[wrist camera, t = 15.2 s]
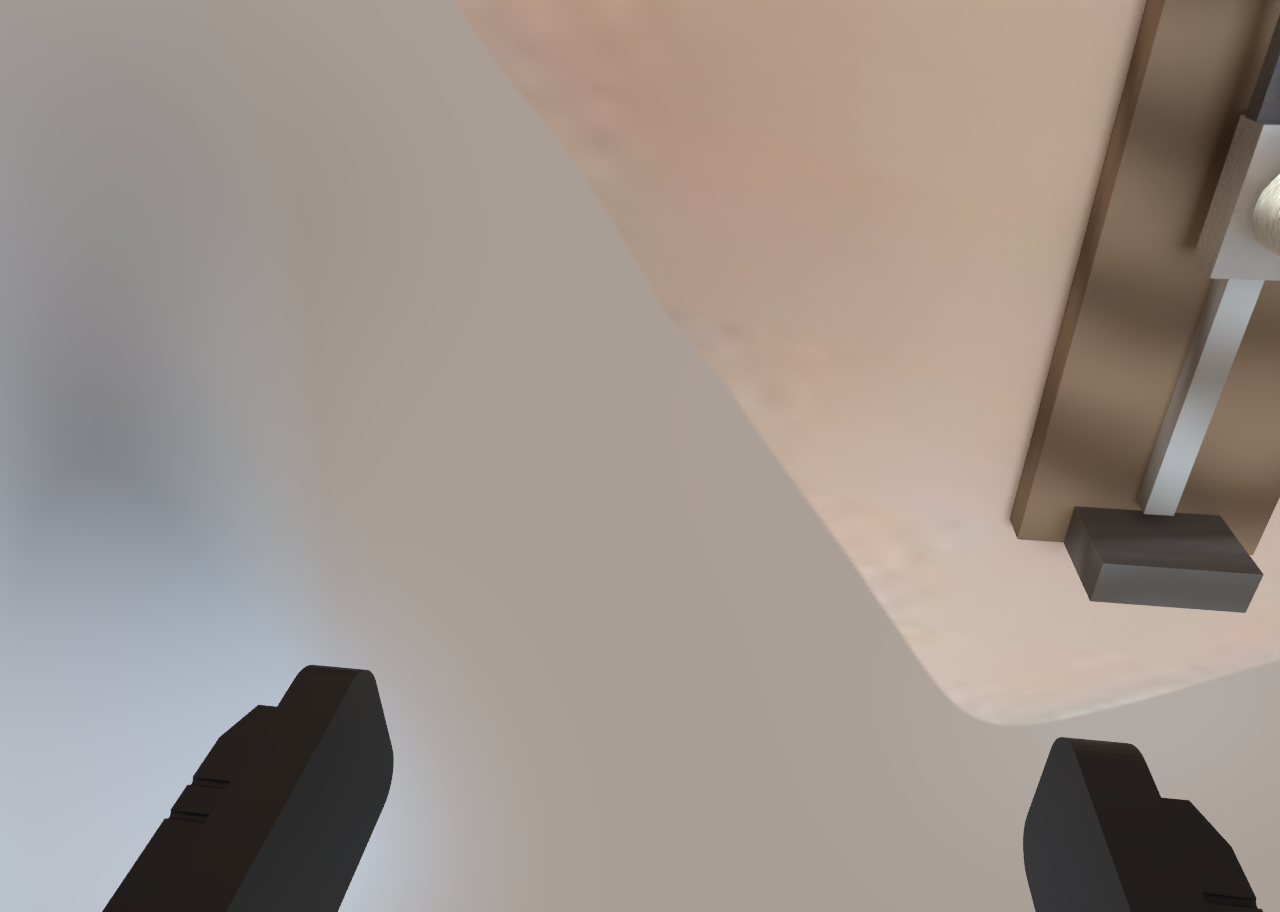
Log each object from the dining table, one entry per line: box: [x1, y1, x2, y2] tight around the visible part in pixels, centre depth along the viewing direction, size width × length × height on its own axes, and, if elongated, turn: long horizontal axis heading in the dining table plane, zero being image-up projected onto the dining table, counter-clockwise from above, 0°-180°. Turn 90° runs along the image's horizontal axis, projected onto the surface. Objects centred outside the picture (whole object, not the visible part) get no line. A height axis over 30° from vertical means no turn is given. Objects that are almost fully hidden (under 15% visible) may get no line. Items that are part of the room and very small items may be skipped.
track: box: [1010, 0, 1280, 613], centre depth 32 cm, size 23×10×6 cm, turn 1°
